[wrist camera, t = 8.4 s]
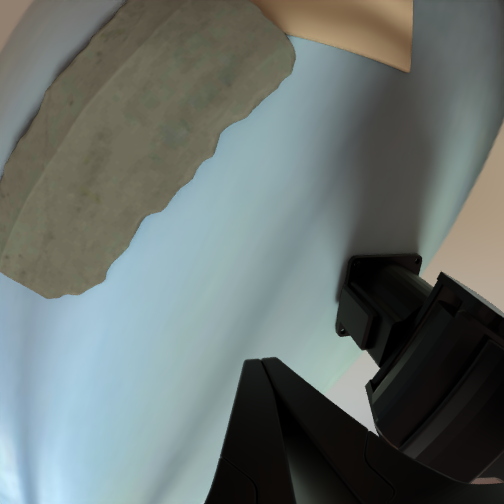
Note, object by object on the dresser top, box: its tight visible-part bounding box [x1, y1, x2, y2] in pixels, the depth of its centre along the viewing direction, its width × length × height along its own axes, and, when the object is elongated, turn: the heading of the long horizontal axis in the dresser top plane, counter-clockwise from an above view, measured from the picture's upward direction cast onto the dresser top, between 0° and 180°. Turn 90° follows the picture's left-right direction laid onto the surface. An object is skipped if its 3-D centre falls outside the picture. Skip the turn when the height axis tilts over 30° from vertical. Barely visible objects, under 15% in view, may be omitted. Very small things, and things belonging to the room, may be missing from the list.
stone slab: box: [0, 0, 296, 299], centre depth 15 cm, size 22×3×10 cm
